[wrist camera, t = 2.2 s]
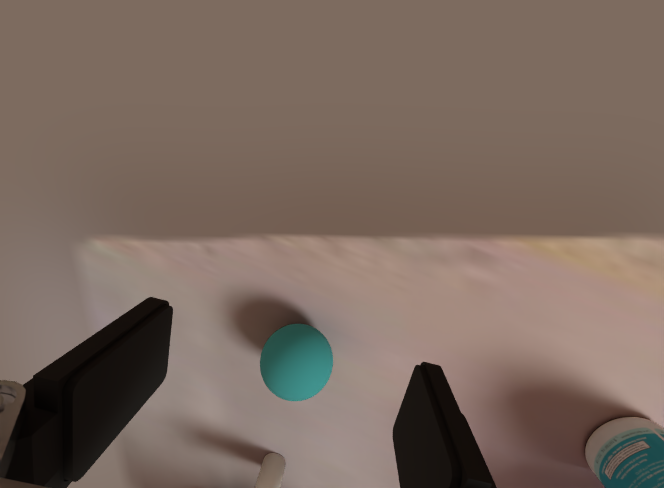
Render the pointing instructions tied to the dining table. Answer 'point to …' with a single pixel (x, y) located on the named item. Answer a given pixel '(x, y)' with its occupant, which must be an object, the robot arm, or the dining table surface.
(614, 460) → the pill bottle
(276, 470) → the pin
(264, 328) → the dining table surface
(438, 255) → the dining table surface
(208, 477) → the dining table surface
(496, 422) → the dining table surface
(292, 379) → the ball
